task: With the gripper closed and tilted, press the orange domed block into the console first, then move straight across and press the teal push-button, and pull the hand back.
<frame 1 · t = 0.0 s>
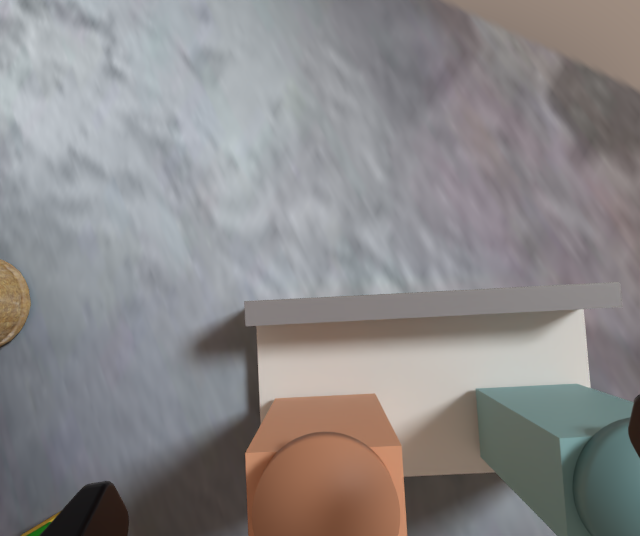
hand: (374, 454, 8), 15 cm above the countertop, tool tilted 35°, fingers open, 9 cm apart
button teal: (579, 450, 17), point 6 cm above the countertop, slide at 0.0 cm
orange domed block: (326, 461, 18), point 5 cm above the countertop, slide at 0.0 cm
button console: (424, 451, 23), on the countertop
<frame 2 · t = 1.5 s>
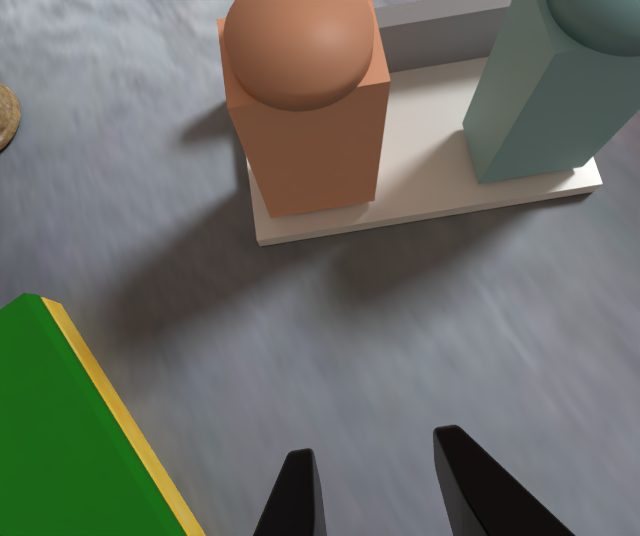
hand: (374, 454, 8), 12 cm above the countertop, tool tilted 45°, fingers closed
dish sponge: (72, 482, 20), on the countertop
button teal: (564, 79, 17), point 5 cm above the countertop, slide at 0.0 cm
orange domed block: (310, 121, 17), point 5 cm above the countertop, slide at 0.0 cm
button console: (422, 202, 22), on the countertop
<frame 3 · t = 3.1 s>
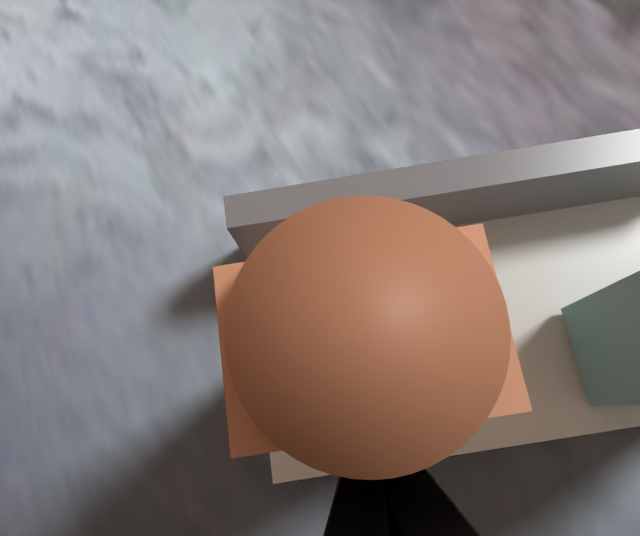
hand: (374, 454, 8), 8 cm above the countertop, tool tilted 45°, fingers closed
orange domed block: (358, 358, 11), point 5 cm above the countertop, slide at 0.5 cm, touching gripper
button console: (504, 417, 16), on the countertop
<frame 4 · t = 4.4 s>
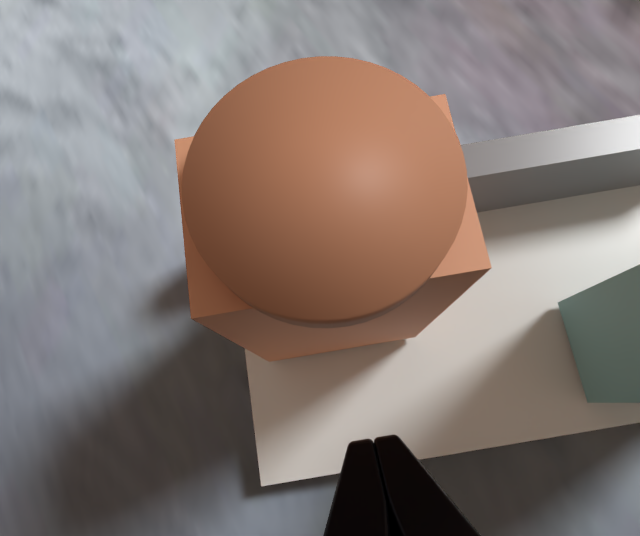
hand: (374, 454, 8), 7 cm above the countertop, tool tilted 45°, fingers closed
orange domed block: (330, 263, 11), point 6 cm above the countertop, slide at 2.7 cm
button console: (499, 414, 15), on the countertop
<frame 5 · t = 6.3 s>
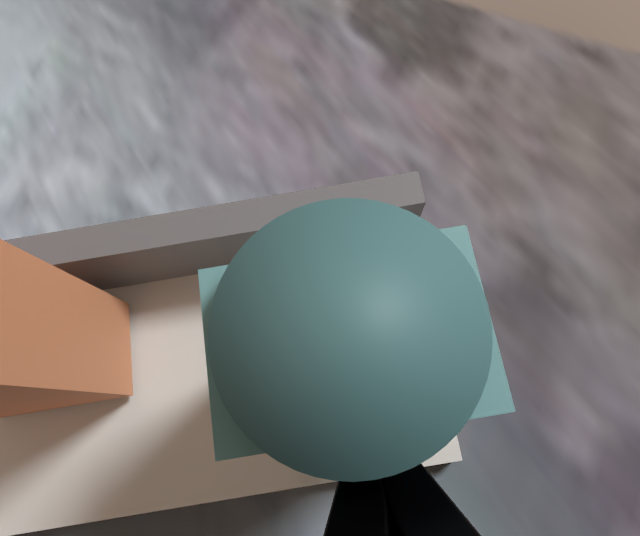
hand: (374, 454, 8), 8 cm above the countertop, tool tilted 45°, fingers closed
button teal: (346, 360, 11), point 6 cm above the countertop, slide at 0.7 cm, touching gripper
button console: (220, 470, 16), on the countertop
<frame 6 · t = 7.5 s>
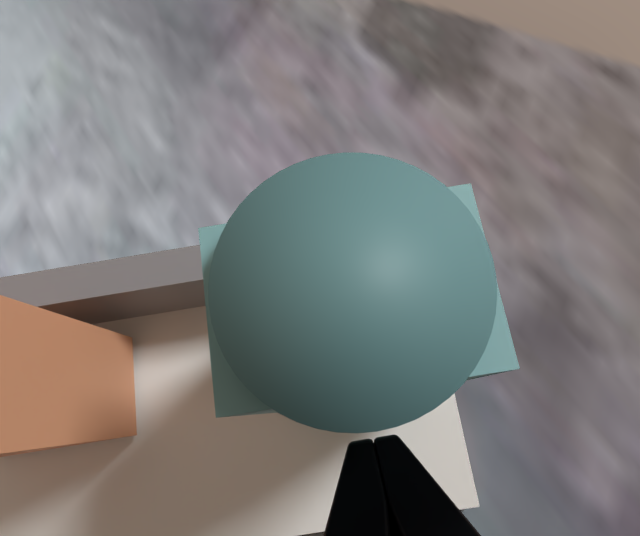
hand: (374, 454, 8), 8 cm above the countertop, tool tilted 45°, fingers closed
button teal: (348, 329, 11), point 6 cm above the countertop, slide at 2.7 cm
button console: (227, 511, 15), on the countertop
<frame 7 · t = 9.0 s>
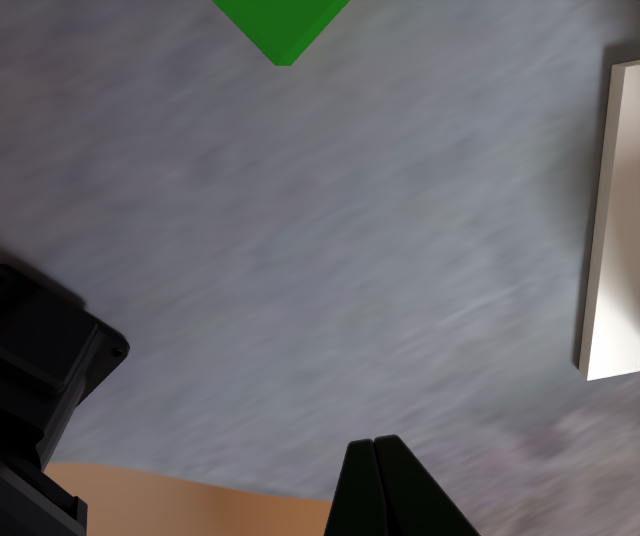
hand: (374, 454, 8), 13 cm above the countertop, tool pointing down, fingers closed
button console: (610, 239, 22), on the countertop
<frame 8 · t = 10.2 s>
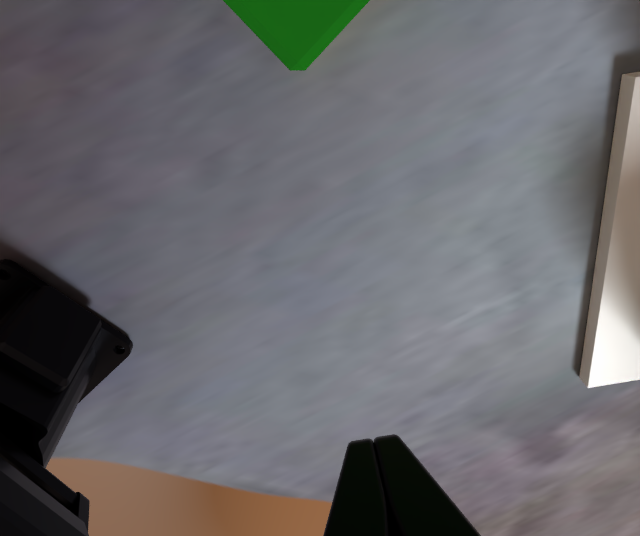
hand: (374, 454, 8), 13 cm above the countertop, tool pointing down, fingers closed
button console: (614, 247, 22), on the countertop
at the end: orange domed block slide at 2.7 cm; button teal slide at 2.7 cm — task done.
